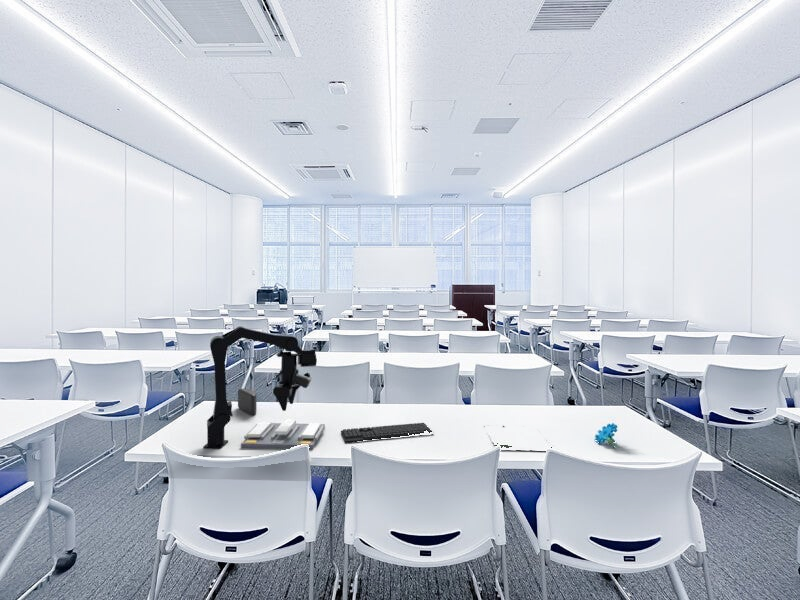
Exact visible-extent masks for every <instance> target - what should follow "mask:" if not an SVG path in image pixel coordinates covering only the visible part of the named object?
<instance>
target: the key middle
mask: <svg viewBox="0 0 800 600" xmlns="http://www.w3.org/2000/svg"><path fill="white" fill-rule="evenodd" d="M281 423H282V424H281V425H280V426H279V427H278V428H277V429H276V430H275V434H278V435H287V433H288V432H289V431H290V430H291V428H292V427H293V426H294V425H295V424H297V420H296V419H284V420H283V421H282V422H281Z"/></svg>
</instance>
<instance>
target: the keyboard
mask: <svg viewBox="0 0 800 600" xmlns="http://www.w3.org/2000/svg"><path fill="white" fill-rule="evenodd" d="M427 426H428V425H427V424H426V423H425V422H417V423H405V424H404V423H403V424H402V423H401V424H392V425H390V424H389V425H380V426H367V427H359V428H357V427H356V428H347V429H346V428H345V429H342V430H341V431H340V434H341V436H342V439H343V442H344V443H345V444H353V443H352V442H355V443H358V442H357V441H363V440H372V439H381V438H391V437H400V436H409V435H412V434H414V435H415V434H420V433H424V431H426V430H427V431H428V432H429V433H430V432H432V431H433V430H432V429H431V428H430V427H429V426H428V427H427ZM430 429H431V430H430ZM408 433H409V435H408Z"/></svg>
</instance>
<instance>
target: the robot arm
mask: <svg viewBox="0 0 800 600" xmlns="http://www.w3.org/2000/svg"><path fill="white" fill-rule="evenodd" d="M241 339H246V340H250V341H254V342H259V343H264V344H269V345H273V346H275V347H277V348H280V350H279V352H277V353H276V357H277V358H281V366H280V367H281V368H280V370H279V374H280V377H281V378H280V381H279V382H278V383H279V384H277V385H276V386H274V388H273V389H272V395H273V396H274V397H275V399H277V401H278V404H279V406H280V408H281V409H282V411H283V412H284V411H285V412H286V410H287V407H288V402H289V405H292V404H294V401H295V397H296V393H297V390H298V389H299V388H301V387H302V388H304V389H307V388H308V387H309V386H310V383H311V381H312V377H311V374H310V372H305V373H304V374H303V373H300V372H299V369H298V368H297V365H300V368H306V367H307V368H309V367H316V366H317V362H318V360H317V354H316V349H314V348H311V349H302V348H301V347H300V346H299V341H298V338H296V337H295V336H294V335H292V334H284V333H283V334H282V333H281V334H279V333H278V334H276V333H271V332H264V331H261V330H256V329H251V328H249V327H248V328H247V327H244V326H241V325H239V326H236V327H235V328H234V329H231V330H230V331H227V332H226V333H224V334H222V335H215V336H213V338H211V339H210V343H209V344H210V345H209V347H210V351H211V356H212V359H213V364H214V365H213V367H214V382H215V383H214V386H215V388H214V389H215V401H214V407H213V413H212V415H211V416H210V417H209V418H208V419H207V421H206V424H207V425H206V428H207V429H206V431H207V433H206V435H207V437H206V438H207V443H205V445H203V446H202V447H203V449H222V448H223V447H224V446H225V445H226V444H227V443H229V440H227V439H225V427H226V425H228V424H229V423H230V422H231V417H233V412H232V409H233V404H232V401H231V400H230V401H228V399H227V383H226V381H227V380H226V358H227V352H228V347H230V346H232V345H233V344H235V343H236V342H237V341H239V340H241ZM283 350H285V351H283ZM292 352H294V353H292Z"/></svg>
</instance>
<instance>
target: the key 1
mask: <svg viewBox="0 0 800 600" xmlns="http://www.w3.org/2000/svg"><path fill="white" fill-rule="evenodd" d="M271 423H272V422H269V421H268V422H266V421H265V422H264V421H260V422H259V423H258V425H257V424H256V425H257V426H256V427H255V428H254V429H253V430H252V431H251V432H250V433H248V432H247V433H248V437H261V436H262V435H263V433H264V432H265V431H266V430H267V429H268V428H269V427H270V426H271Z"/></svg>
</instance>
